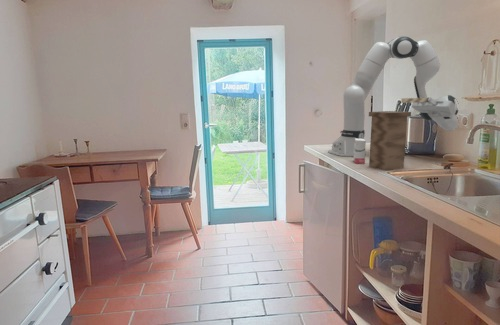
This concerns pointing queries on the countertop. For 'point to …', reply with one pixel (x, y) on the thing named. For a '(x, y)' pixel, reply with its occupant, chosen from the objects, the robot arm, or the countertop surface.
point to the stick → (413, 100)
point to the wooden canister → (388, 139)
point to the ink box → (359, 150)
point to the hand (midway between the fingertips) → (425, 98)
